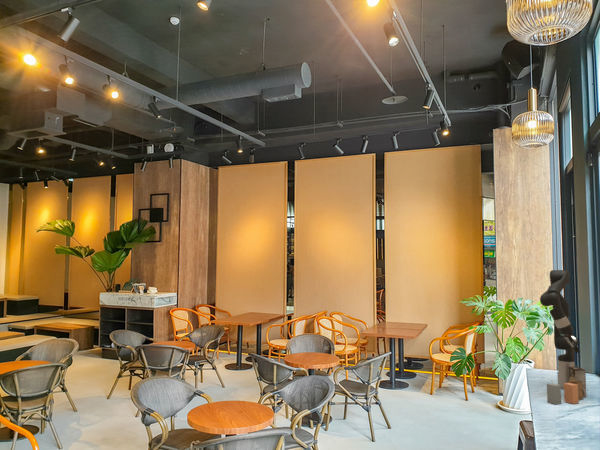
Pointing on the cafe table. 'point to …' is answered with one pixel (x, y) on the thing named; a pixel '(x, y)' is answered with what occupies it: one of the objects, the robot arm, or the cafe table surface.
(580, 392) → the walnut block
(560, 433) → the cafe table surface
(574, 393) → the terracotta block
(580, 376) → the coffee box
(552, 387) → the slate block
